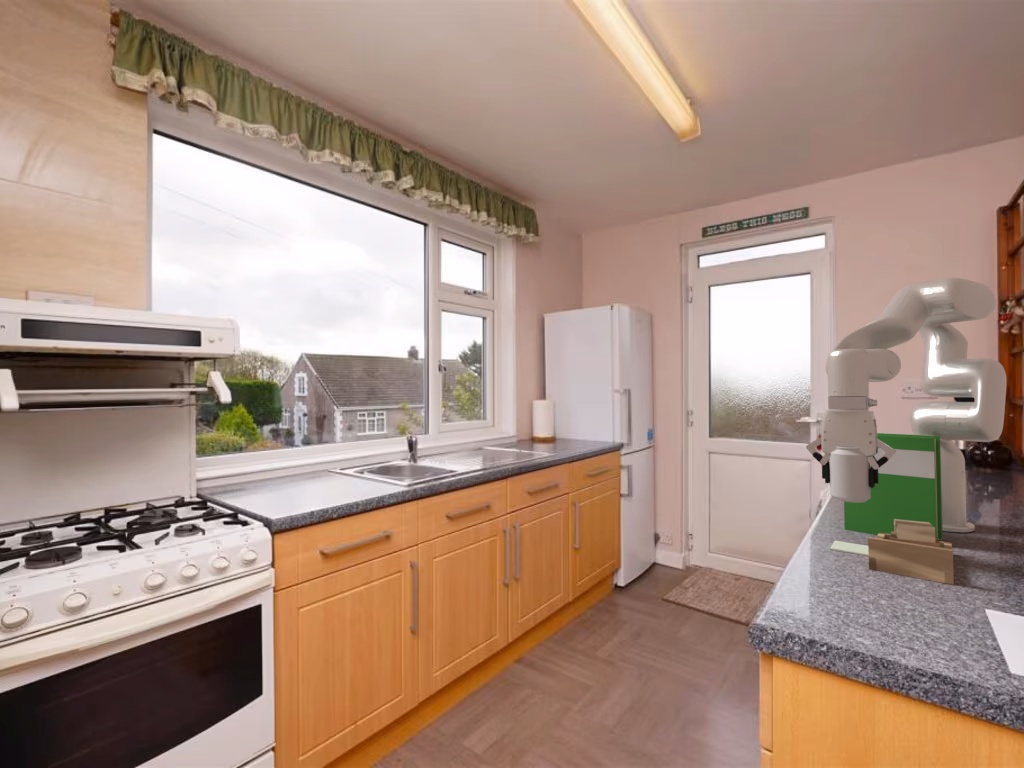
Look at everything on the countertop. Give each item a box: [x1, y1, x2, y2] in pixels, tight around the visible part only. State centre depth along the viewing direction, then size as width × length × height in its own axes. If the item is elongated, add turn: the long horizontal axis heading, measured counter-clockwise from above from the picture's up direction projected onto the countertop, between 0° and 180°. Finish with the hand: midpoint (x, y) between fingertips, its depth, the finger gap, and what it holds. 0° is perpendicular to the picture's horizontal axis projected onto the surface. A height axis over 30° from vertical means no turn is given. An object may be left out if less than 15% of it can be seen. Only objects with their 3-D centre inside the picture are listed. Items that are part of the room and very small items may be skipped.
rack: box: [867, 533, 955, 586], centre depth 101 cm, size 21×12×6 cm, turn 139°
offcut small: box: [894, 519, 935, 543], centre depth 104 cm, size 5×6×3 cm
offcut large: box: [890, 532, 941, 548], centre depth 104 cm, size 6×8×4 cm
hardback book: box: [843, 432, 944, 540], centre depth 120 cm, size 18×7×24 cm, turn 41°
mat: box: [829, 540, 869, 557], centre depth 109 cm, size 7×7×1 cm
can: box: [829, 447, 871, 503], centre depth 109 cm, size 8×8×12 cm
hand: (849, 484), depth 109 cm, fingers closed on can, 7 cm apart
